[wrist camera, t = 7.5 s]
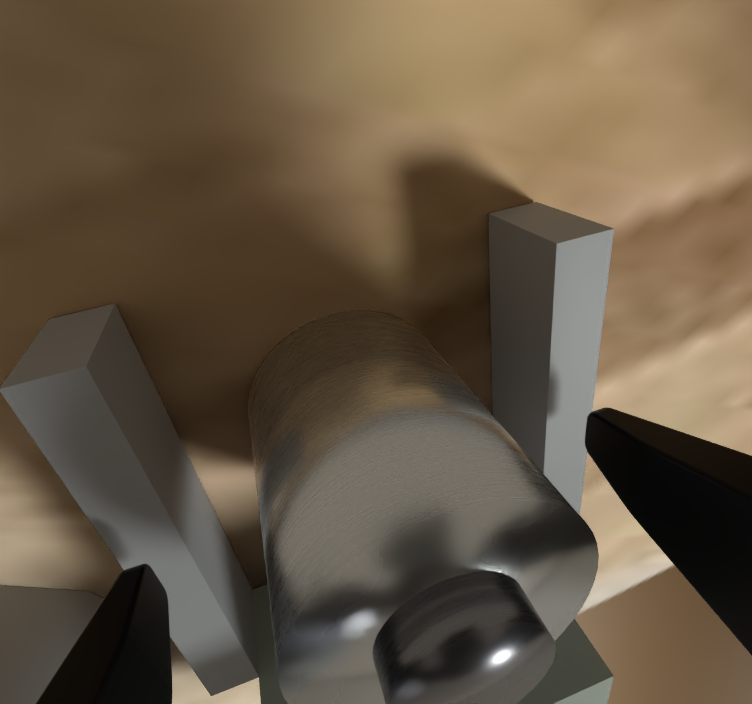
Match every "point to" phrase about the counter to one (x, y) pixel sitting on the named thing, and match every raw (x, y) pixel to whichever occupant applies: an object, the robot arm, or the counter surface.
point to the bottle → (404, 526)
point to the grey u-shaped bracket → (190, 502)
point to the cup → (38, 636)
